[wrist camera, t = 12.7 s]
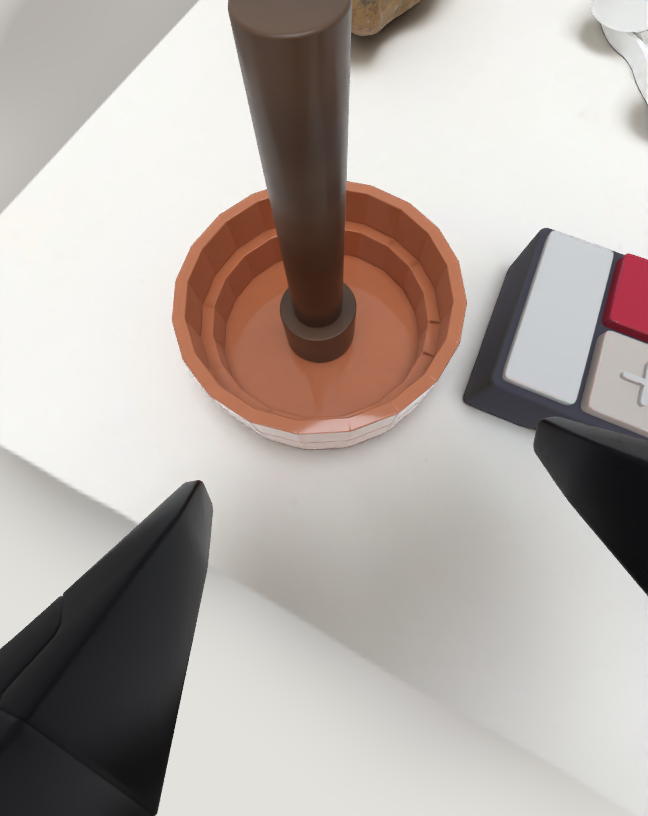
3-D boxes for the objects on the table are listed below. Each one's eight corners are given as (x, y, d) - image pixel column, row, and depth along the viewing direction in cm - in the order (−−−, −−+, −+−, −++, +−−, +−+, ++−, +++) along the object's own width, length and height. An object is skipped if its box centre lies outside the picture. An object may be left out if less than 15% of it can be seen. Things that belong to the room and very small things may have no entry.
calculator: (816, 507, 15) (496, 378, 16) (708, 505, 19) (460, 402, 21) (827, 310, 18) (551, 213, 19) (730, 345, 22) (509, 264, 23)
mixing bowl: (412, 479, 19) (437, 471, 15) (173, 415, 21) (125, 389, 16) (454, 265, 24) (484, 204, 19) (250, 225, 25) (229, 160, 20)
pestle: (344, 370, 21) (363, 74, 7) (278, 354, 21) (160, 46, 7) (360, 310, 22) (406, -52, 8) (297, 297, 23) (229, -69, 8)
